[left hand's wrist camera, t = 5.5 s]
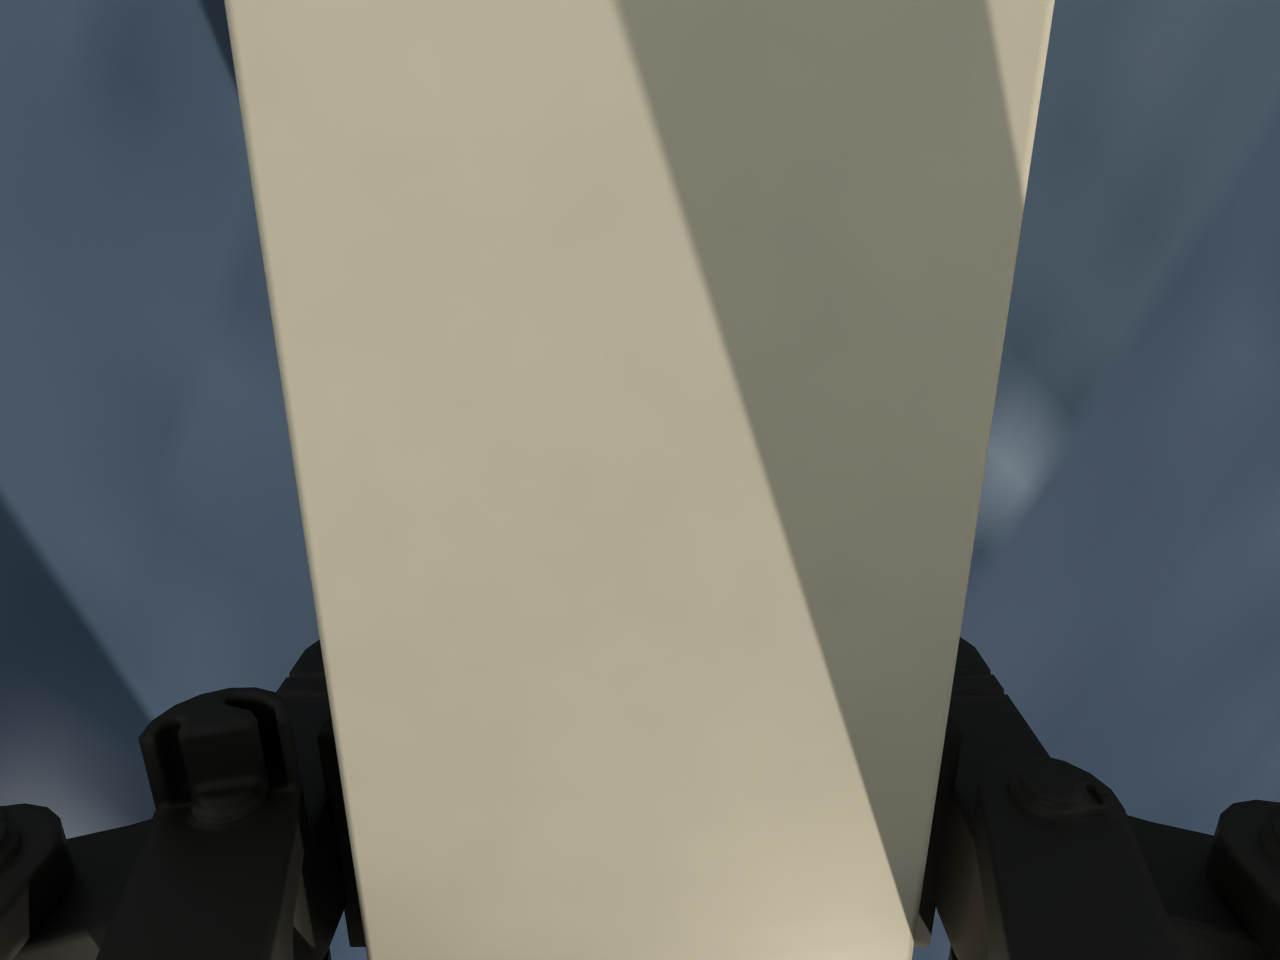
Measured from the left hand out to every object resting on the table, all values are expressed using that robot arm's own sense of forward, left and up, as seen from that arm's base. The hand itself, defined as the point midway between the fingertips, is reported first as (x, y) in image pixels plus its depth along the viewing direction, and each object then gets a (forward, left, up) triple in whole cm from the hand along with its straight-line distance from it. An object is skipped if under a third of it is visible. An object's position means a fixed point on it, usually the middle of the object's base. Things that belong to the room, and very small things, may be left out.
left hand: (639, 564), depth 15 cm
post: (+25, +11, -1) cm, 27 cm away
